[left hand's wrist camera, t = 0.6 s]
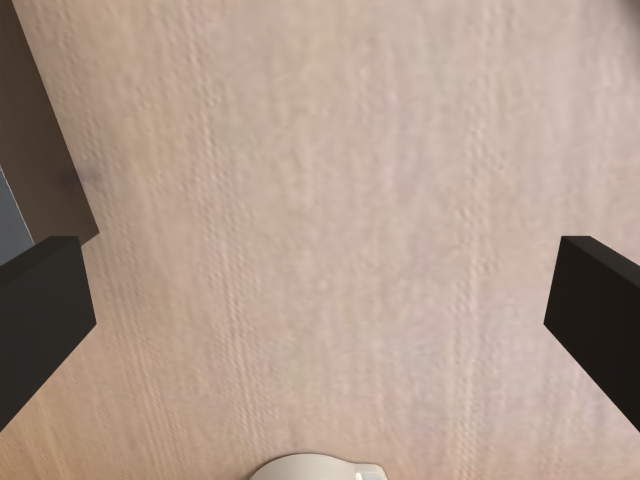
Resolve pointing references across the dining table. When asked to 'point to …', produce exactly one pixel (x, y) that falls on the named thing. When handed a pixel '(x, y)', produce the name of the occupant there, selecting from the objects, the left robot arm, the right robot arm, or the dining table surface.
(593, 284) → the left robot arm
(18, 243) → the bar
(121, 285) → the dining table surface
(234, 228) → the dining table surface
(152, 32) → the dining table surface
